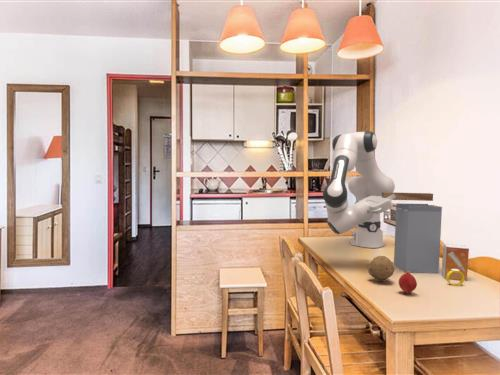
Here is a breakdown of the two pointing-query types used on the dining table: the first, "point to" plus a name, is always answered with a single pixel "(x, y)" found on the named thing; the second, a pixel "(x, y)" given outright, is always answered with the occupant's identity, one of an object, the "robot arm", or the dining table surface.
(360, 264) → the dining table surface
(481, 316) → the dining table surface
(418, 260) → the stand
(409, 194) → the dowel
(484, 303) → the dining table surface
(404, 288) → the red rounded lump
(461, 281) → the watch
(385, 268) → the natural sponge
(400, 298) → the dining table surface
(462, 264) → the small box
